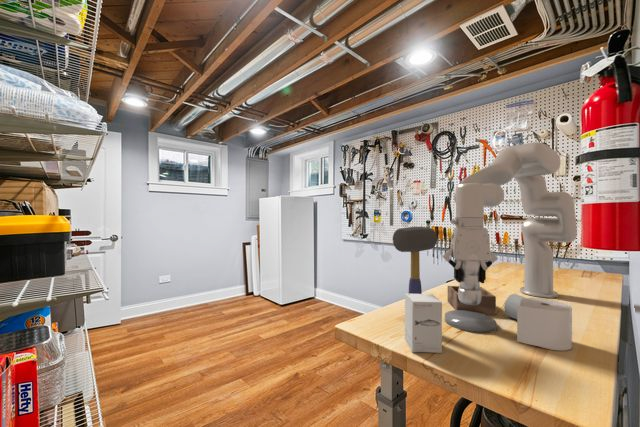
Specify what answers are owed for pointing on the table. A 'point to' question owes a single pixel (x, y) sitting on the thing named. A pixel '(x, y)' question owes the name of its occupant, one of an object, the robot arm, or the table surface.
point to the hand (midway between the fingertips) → (469, 281)
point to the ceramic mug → (512, 305)
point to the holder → (484, 307)
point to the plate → (470, 321)
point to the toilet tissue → (544, 323)
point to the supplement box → (423, 323)
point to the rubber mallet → (414, 250)
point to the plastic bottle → (470, 281)
